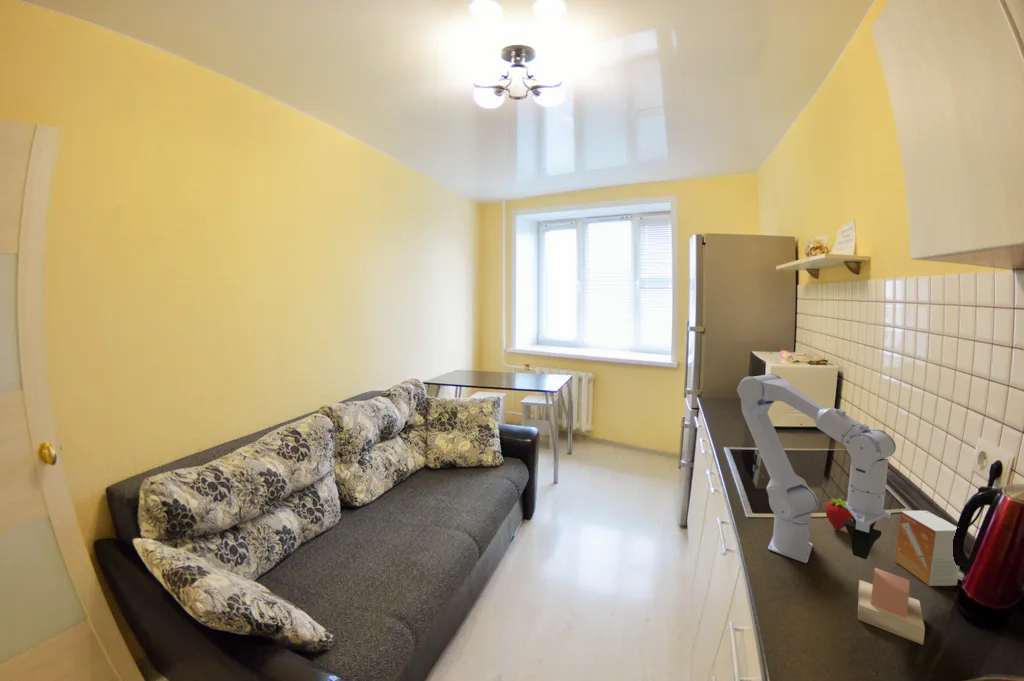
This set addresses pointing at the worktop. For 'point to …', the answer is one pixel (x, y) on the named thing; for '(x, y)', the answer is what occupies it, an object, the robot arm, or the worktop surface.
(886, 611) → the birch base block
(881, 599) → the terracotta cube
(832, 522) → the strawberry
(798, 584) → the worktop surface
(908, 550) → the small box
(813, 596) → the worktop surface
